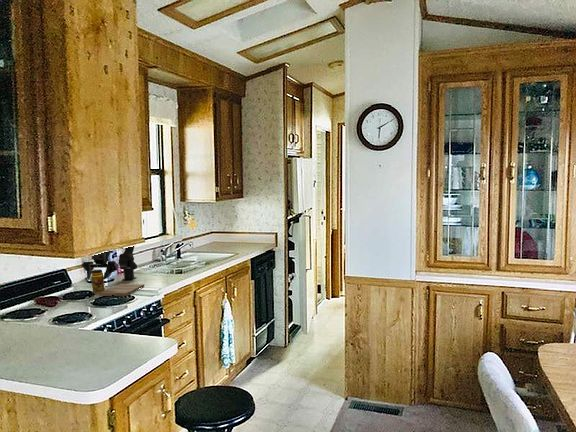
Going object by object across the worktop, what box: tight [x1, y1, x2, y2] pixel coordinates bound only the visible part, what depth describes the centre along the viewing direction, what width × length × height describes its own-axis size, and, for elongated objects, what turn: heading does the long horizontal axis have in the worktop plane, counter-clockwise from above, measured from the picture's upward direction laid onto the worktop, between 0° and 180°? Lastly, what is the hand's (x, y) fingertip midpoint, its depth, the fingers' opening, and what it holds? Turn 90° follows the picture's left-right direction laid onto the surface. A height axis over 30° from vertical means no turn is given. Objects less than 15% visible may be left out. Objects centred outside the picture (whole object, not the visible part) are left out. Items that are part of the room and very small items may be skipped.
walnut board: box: [98, 283, 145, 297], centre depth 277 cm, size 20×16×2 cm
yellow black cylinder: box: [91, 268, 105, 295], centre depth 278 cm, size 7×8×12 cm
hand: (96, 278), depth 277 cm, fingers open, 9 cm apart
